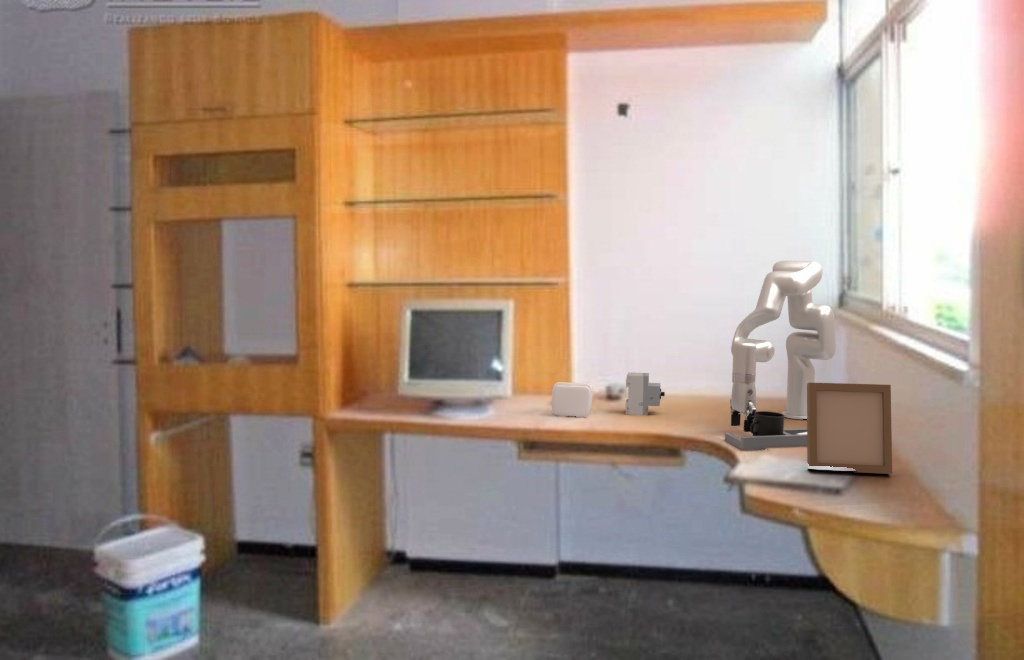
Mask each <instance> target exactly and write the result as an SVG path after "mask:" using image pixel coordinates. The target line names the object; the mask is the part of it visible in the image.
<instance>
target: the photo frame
mask: <svg viewBox="0 0 1024 660" xmlns="http://www.w3.org/2000/svg"><path fill="white" fill-rule="evenodd" d="M891 386H892V385H891V384H876V383H875V384H874V383H871V384H870V383H843V382H842V383H841V382H840V383H838V382H837V383H836V382H814V383H808V384H807V420H806V428H807V446H806V450H807V451H806V456H807V457H806V458H807V459H806V460H807V461H806V464H807V463H808V464H809V466H830V467H832V466H833V467H847V468H853V469H855V470H856V471H857V472H856V473H863V474H865V473H866V474H885V475H887V474H888V475H890V474H891V475H893V447H892V446H893V444H892V440H893V439H892V437H893V436H892V435H893V434H892V394H891V393H892V387H891Z"/></svg>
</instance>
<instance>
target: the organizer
mask: <svg viewBox="0 0 1024 660" xmlns="http://www.w3.org/2000/svg"><path fill="white" fill-rule="evenodd" d="M804 432H807V427H805V428H803V427H802V428H784V430H783V435H773V436H753V435H752V436H751V435H749V436H741V437H738V436H737V435H734V434H732V433H731V432H725V433H724V441H725V442H727V443H728V444H730V445H732V446H734V447H736V448H737V447H738V448H737V449H739V448H740V449H739V450H741V451H743V450H744V451H759V450H760V451H762V449H769V448H771V449H773V448H795V447H807V434H798V433H804ZM796 434H798V435H796Z"/></svg>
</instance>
